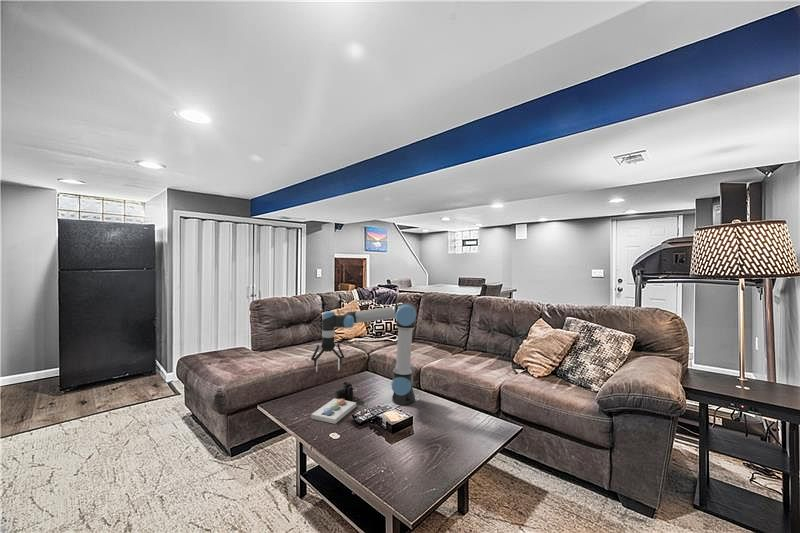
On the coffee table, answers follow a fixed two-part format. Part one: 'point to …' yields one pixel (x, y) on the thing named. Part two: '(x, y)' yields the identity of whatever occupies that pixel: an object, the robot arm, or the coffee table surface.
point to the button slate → (328, 411)
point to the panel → (333, 412)
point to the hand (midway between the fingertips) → (327, 370)
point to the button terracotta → (341, 402)
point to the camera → (345, 392)
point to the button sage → (335, 406)
